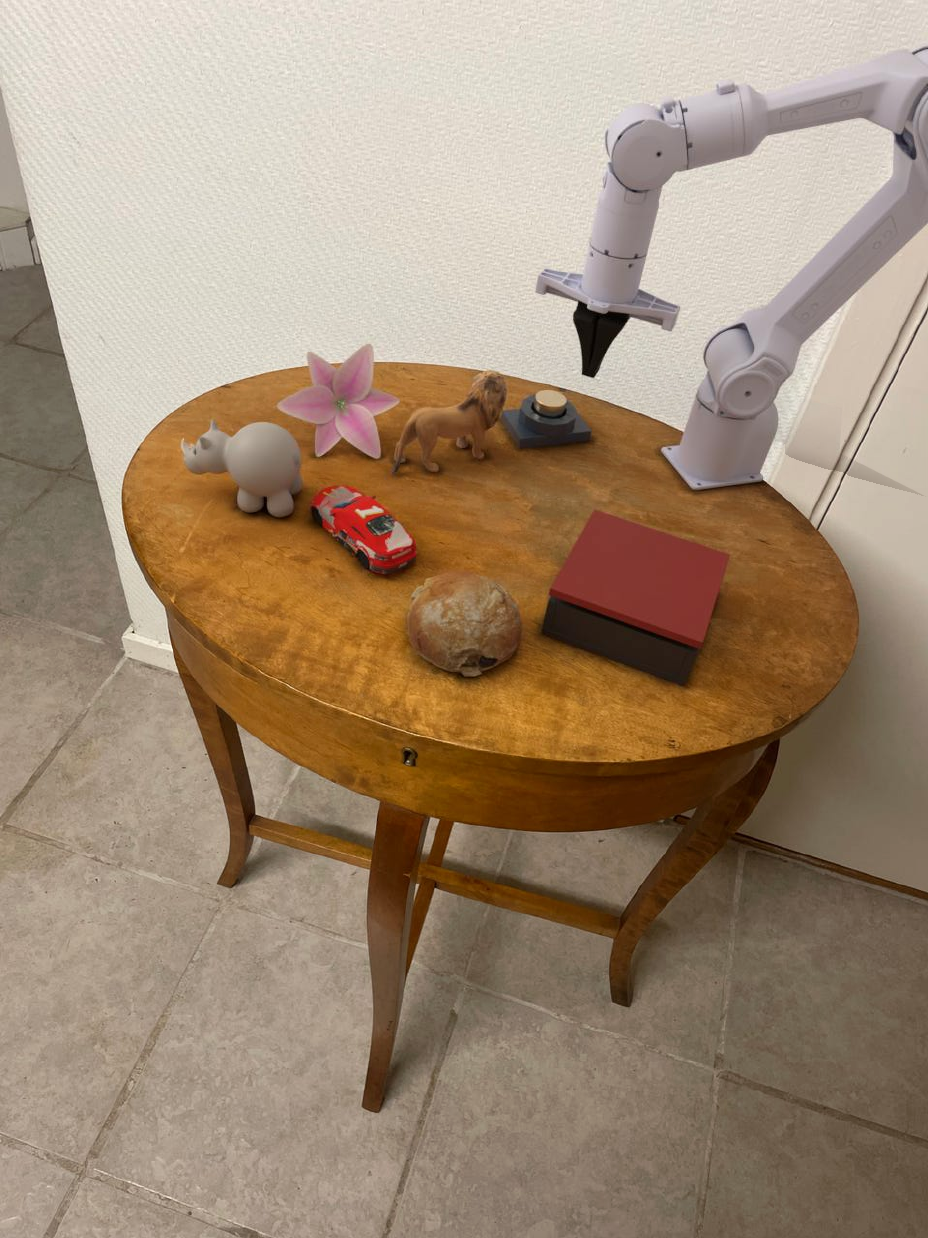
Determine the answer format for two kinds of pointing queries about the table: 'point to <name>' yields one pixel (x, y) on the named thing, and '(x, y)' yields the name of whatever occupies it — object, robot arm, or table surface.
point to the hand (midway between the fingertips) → (590, 372)
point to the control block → (544, 426)
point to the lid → (643, 578)
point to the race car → (364, 528)
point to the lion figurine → (456, 420)
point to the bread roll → (463, 622)
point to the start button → (549, 404)
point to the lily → (341, 402)
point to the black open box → (618, 641)
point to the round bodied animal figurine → (251, 464)
